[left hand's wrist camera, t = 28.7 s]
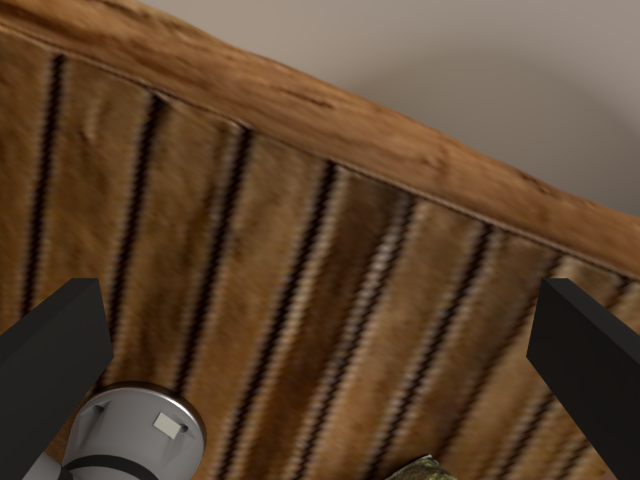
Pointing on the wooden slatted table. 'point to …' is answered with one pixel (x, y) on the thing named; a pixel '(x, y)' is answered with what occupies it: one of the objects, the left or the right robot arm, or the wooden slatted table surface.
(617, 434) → the left robot arm
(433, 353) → the wooden slatted table surface
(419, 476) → the fossil
